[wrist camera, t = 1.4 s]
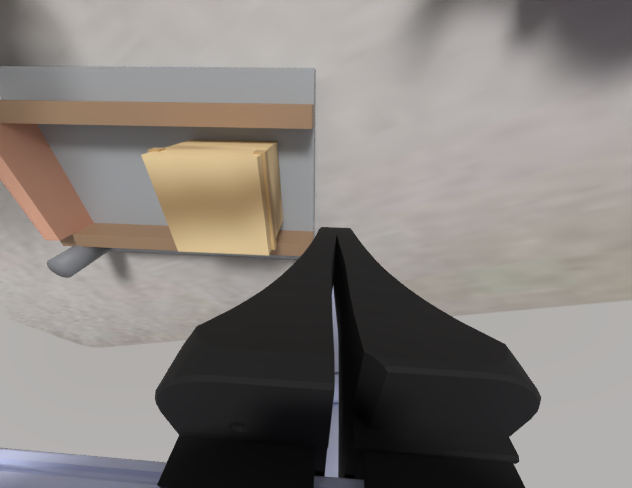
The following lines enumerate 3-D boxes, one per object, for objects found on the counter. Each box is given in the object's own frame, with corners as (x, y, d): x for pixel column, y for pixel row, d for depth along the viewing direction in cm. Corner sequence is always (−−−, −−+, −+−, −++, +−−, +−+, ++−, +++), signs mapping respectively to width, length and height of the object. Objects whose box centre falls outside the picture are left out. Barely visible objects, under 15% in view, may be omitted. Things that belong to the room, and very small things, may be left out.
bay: (314, 253, 22) (309, 290, 18) (103, 244, 23) (52, 277, 19) (315, 69, 14) (308, 58, 10) (0, 67, 15) (-127, 56, 11)
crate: (285, 221, 19) (272, 256, 15) (210, 218, 19) (175, 252, 15) (279, 139, 16) (260, 155, 11) (188, 137, 16) (136, 152, 12)
